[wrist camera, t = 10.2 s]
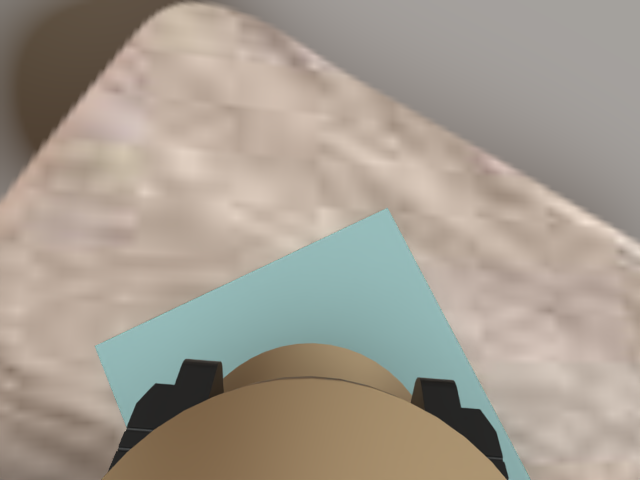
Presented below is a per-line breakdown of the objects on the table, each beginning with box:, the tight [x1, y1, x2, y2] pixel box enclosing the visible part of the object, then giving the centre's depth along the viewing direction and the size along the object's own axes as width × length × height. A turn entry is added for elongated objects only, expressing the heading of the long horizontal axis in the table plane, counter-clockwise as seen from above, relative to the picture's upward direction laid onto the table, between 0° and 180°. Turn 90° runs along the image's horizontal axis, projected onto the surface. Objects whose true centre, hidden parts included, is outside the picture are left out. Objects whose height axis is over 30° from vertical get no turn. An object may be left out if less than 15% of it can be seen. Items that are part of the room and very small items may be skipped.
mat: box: [95, 208, 531, 480], centre depth 23 cm, size 14×14×1 cm
